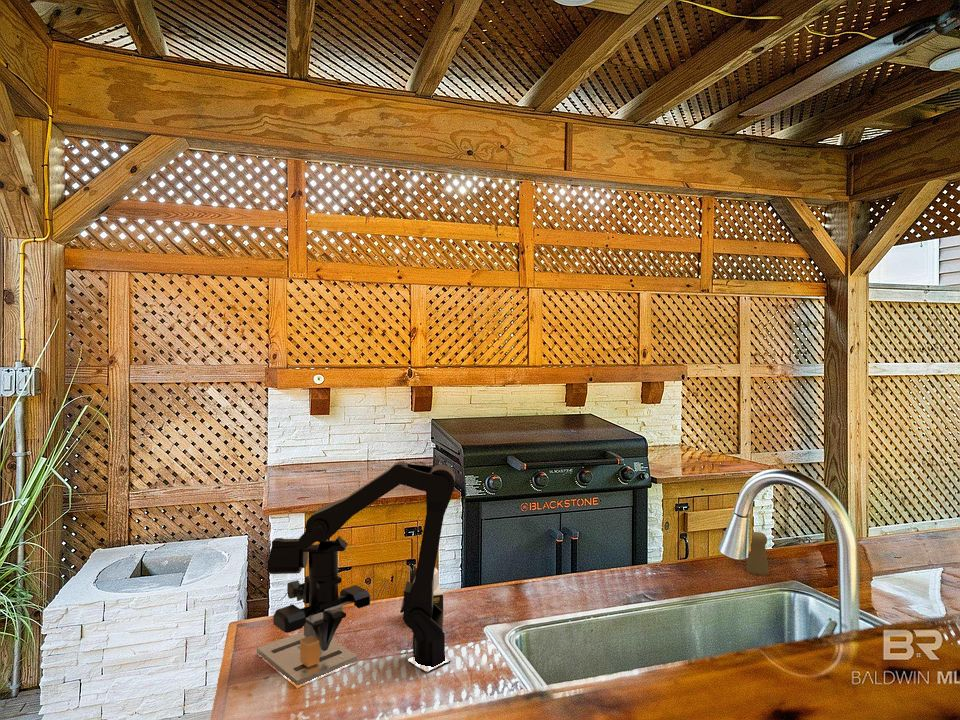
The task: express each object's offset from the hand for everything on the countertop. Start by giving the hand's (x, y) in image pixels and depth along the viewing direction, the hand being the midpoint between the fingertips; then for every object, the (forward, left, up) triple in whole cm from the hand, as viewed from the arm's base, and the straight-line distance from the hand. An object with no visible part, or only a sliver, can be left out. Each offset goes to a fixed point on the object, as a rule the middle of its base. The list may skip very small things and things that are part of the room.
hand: (324, 649), depth 115 cm
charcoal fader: (+10, -3, -1) cm, 10 cm away
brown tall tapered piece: (-42, -114, -3) cm, 121 cm away
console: (+5, +1, -3) cm, 6 cm away
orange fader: (0, +3, -1) cm, 3 cm away
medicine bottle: (+2, -28, -3) cm, 28 cm away
